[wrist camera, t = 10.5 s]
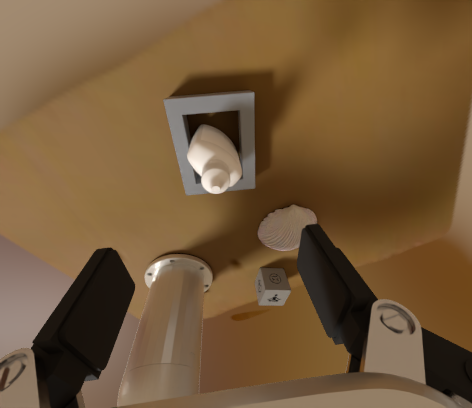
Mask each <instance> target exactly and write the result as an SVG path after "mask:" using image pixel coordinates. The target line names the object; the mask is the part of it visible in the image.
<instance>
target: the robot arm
mask: <svg viewBox="0 0 472 408" xmlns="http://www.w3.org/2000/svg"><path fill="white" fill-rule="evenodd" d="M297 268H298V271H299V273H300V276H301V278H302V280H303V282H304V285H305V287H306V289H307V291H308V294H309V296H310V298H311V300H312V303H313V305H314V307H315V309H316V311H317V314H318V316H319V318H320V320H321V323H322V325H323V327H324V329H325V331H326V334H327V335H328V337H330V338H331V337H332V339H333V341H334V343H335V344H336V345H337V344H344V345H345V347H346V349H347V351H348V352H349V358H348V363H347V369H346V373H343V374H336V375H327V376H319V377H311V378H303V379H297V380H290V381H283V382H276V383H270V384H263V385H256V386H249V387H243V388H236V389H230V390H223V391H216V392H210V393H203V394H199V380H200V361H201V341H202V321H203V301H204V292H205V291H206V290H207V289H208V288H209V287H210V286H211V284H212V280H213V274H212V270H211V268H210V267H209V265H208V264H207V263H206V262H204V261H203V260H201V259H199V258H197V257H194V256H191V255H186V254H170V255H166V256H162V257H160V258H157V259H156V260H154V261H153V262H152V263H151V264H149V266H148V267H147V270H146V272H145V282H146V284H147V286H148V287H149V288H150V290H149V293H148V296H147V300H146V303H145V306H144V310H143V313H142V316H141V320H140V323H139V326H138V330H137V333H136V336H135V340H134V343H133V346H132V349H131V353H130V356H129V360H128V363H127V367H126V369H125V373H124V376H123V380H122V383H121V386H120V390H119V395H118V403H117V405H118V406H117V407H113V408H472V352H470V351H468V350H466V349H464V348H462V347H460V346H458V345H456V344H454V343H452V342H450V341H448V340H446V339H444V338H442V337H440V336H438V335H436V334H434V333H432V332H430V331H428V330H426V329H424V328H422V327H421V326H420V323H419V322H418V320H417V318H416V317H415V316H414V315H413V314H412V313H411V312H410V311H409V310H408V309H406V308H405V307H404V306H402V305H401V304H399V303H397V302H394V301H391V300H386V299H381V300H378V299H377V298H376V296H375V295H374V294H373V292H372V291H371V290H370V288H369V287H368V286H367V284H366V283H365V282H364V280H363V279H362V278H361V276H360V275H359V274H358V272H357V271H356V270H355V268H354V267H353V266H352V264H351V263H350V262H349V260H348V259H347V258H346V256H345V255H344V254H343V252H342V251H341V250H340V249H339V248H336V247H335V246H334V245H333V243H332V242H331V240H330V239H329V238H328V236H327V235H326V234H325V232H324V231H323V230H322V228H321V227H320V225H319V224H310V225H306V226H305V228H302V232H301V239H300V246H299V252H298V259H297ZM134 291H135V284H134V282H133V280H132V278H131V276H130V274H129V273H128V271H127V269H126V267H125V265H124V264H123V262H122V260H121V258H120V256H119V254H118V253H117V251H116V250H113V249H112V248H102V249H97V250H96V251H95V252H94V253H93V255H92V256H91V258H90V259H89V261H88V262H87V264H86V265H85V266H84V268H83V269H82V271H81V272H80V274H79V275H78V277H77V278H76V280H75V281H74V282H73V284H72V285H71V287H70V288H69V290H68V291H67V293H66V294H65V295H64V297H63V298H62V300H61V301H60V303H59V304H58V306H57V307H56V308H55V310H54V312H53V313H52V314H51V316H50V317H49V319H48V320H47V322H46V323H45V324H44V326H43V327H42V329H41V330H40V332H39V333H38V335H37V336H36V338H35V339H34V340H33V343H34V344H33V346H32V347H31V349H29V348H21V349H18V350H15V351H13V352H12V353H9V354H7V355H6V356H4V357H3V358H1V359H0V408H85V405H84V401H83V396H82V393H81V387H82V385H83V383H84V381H90V380H96V379H99V376H100V374H101V371H102V370H104V369H105V367H106V366H107V363H108V361H109V358H110V355H111V352H112V350H113V347H114V344H115V342H116V339H117V336H118V334H119V331H120V329H121V326H122V323H123V320H124V317H125V315H126V312H127V310H128V307H129V304H130V302H131V299H132V296H133V294H134Z"/></svg>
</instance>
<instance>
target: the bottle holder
mask: <svg viewBox="0 0 472 408" xmlns="http://www.w3.org/2000/svg"><path fill="white" fill-rule="evenodd" d="M163 101H164V105H165V109H166V113H167V117H168V122H169V126H170V130H171V134H172V138H173V142H174V147H175V151H176V155H177V159H178V163H179V167H180V172H181V176H182V180H183V184H184V188H185V192H186V195H195V194H205V193H210V192H208V191H207V190H206V189H205V188H204V187H203V186H202V183H201V177H202V176H200V175H199V174H198V173H197V172H196V171H195V169H194V168H193V167H192V165H191V164H190V162H189V161H188V158H187V154H188V150H189V147H190V144H191V136H190V131H189V126H188V121H187V114H199V113H211V112H223V111H234V110H238V127H239V145H240V164H241V168H242V176H241V178H240V179H239V180H238V181H237V182H236V184H234V185H233V186H232V187H228V189H227V190H226V191H235V190H245V189H255V111H254V92H253V91H251V90H245V91H233V92H220V93H208V94H195V95H183V96H171V97H167V98H166V99H164V100H163ZM224 192H225V191H224Z"/></svg>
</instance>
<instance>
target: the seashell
mask: <svg viewBox="0 0 472 408" xmlns="http://www.w3.org/2000/svg"><path fill="white" fill-rule="evenodd" d="M263 220H264V221H262V222H261V224H260V227H259V230H258V235H257V236H258V237H259V239H260V240H261V242H262V243H263V244H264V245H266V246H268V247H269V248H272V249H276V250H280V251H281V250H282V251H289V250H293V249H296V248H298V247H299V246H300V239H301V232H302V228H305V226H306V225H310V224H316V223H317V218H316V216H315V213H313V211H311V210H310V209H307V208H302V207H298V206H296V205H291V206H290V207H288V208H284V209H278V210H275V212H274V213H270V214H268V217H266V218H264V219H263Z"/></svg>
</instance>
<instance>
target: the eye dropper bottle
mask: <svg viewBox="0 0 472 408" xmlns="http://www.w3.org/2000/svg"><path fill="white" fill-rule="evenodd" d="M187 158H188V161H189V162H190V164H191V165H192V167H193V168H194V169H195V171H196V172H197V173H198V174H199V175H200V176H202V177H201V183H202V186H203V187H204V188H205V189H206V190H207V191H208V192H210V193H213V194H218V193H222V192H224V191H226V190H227V189H228V187H232V186H233V185H234V184H236V182H237V181H238V180H239V179H240V178H241V176H242V168H241V164H240V160H239V157H238V153H237V150H236V147H235V146H234V144H233V142H232V141H231V140H230V139H229V138H228V136H226V135H225V134H224V133H223V132H222V131H220V130H218V129H217V128H215V127H212V126H210V125H206V124H202V125H200V126H199V127H198V129H197V130H196V132H195V133H194V135H193V138H192V141H191V144H190V147H189V150H188V154H187Z"/></svg>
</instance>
